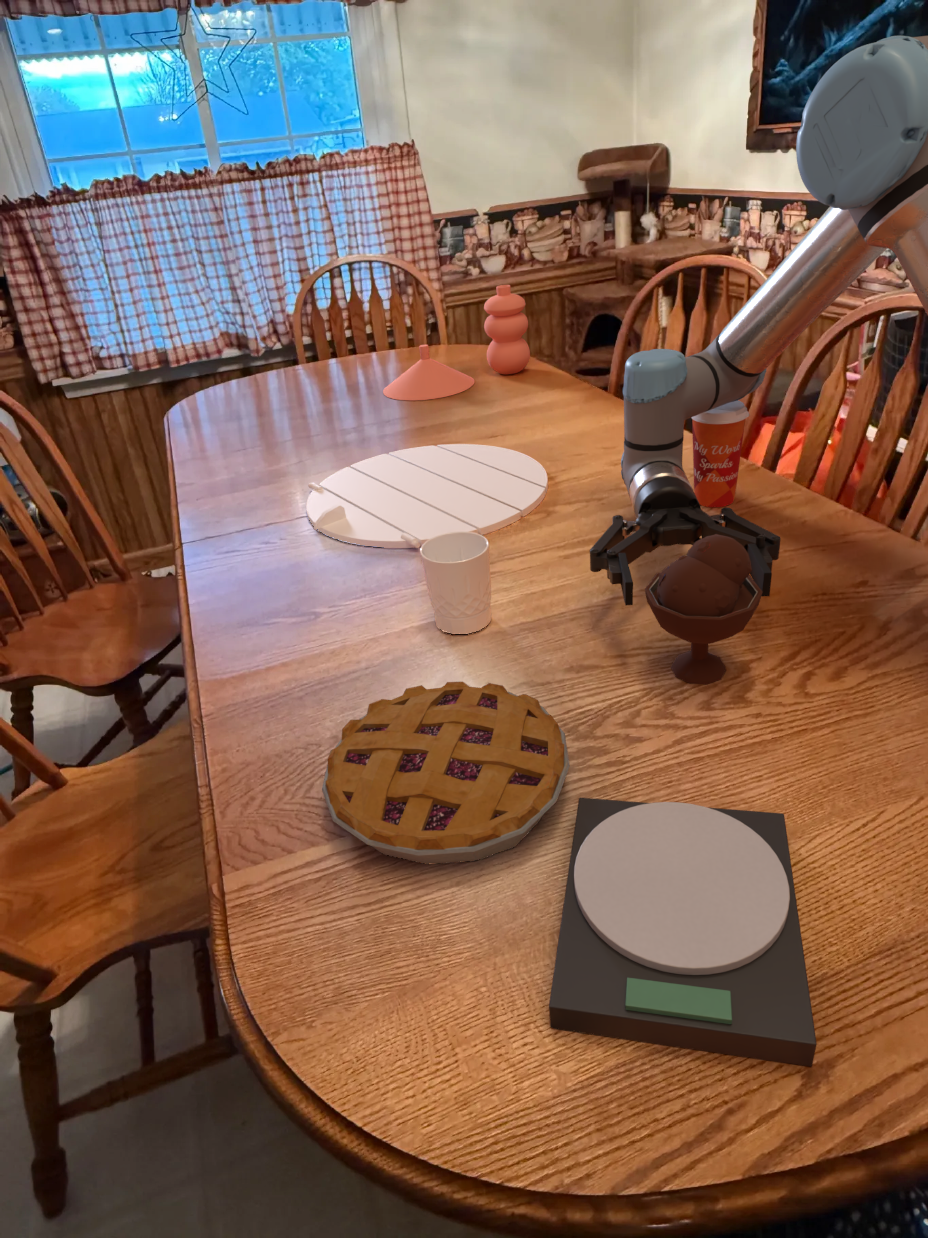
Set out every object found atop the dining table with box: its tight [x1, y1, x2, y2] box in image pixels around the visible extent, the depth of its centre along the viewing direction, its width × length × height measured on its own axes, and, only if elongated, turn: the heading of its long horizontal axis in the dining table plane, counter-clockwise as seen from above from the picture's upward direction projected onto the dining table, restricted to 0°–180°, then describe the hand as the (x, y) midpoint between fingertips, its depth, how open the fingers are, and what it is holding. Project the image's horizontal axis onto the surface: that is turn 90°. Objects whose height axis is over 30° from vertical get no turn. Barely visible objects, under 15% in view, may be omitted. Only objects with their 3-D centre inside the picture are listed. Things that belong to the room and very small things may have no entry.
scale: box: [548, 797, 818, 1067], centre depth 59 cm, size 16×19×3 cm
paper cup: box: [690, 400, 750, 508], centre depth 116 cm, size 8×8×14 cm
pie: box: [321, 681, 570, 865], centre depth 73 cm, size 22×22×5 cm
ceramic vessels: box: [382, 284, 531, 401], centre depth 184 cm, size 35×21×19 cm, turn 105°
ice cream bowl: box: [644, 534, 763, 685], centre depth 81 cm, size 11×11×15 cm
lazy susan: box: [305, 443, 549, 549], centre depth 132 cm, size 40×39×3 cm
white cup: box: [419, 532, 492, 634], centre depth 96 cm, size 8×8×10 cm
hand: (697, 589), depth 83 cm, fingers open, 13 cm apart
